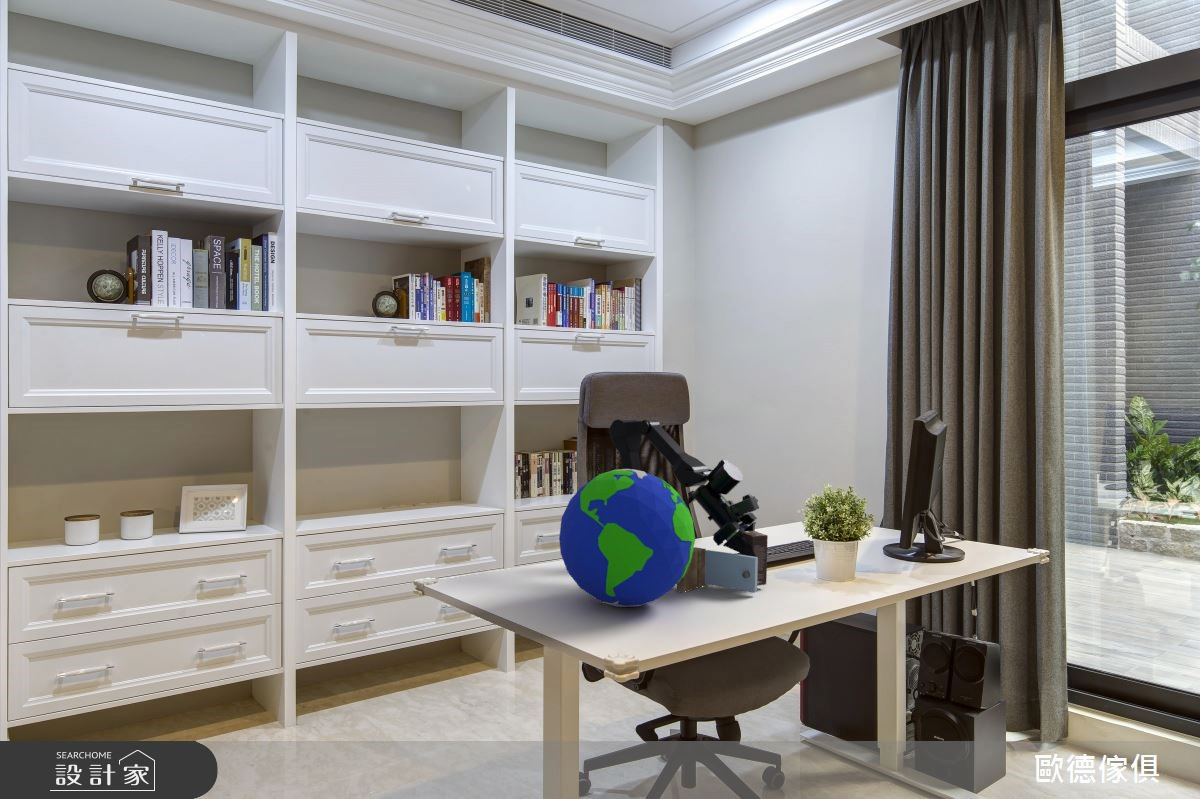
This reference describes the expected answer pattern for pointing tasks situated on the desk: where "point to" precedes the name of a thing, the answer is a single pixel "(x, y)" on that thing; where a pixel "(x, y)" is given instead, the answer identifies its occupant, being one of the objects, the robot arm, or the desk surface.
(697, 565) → the doorframe
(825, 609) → the desk surface
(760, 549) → the box
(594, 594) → the globe
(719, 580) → the door
